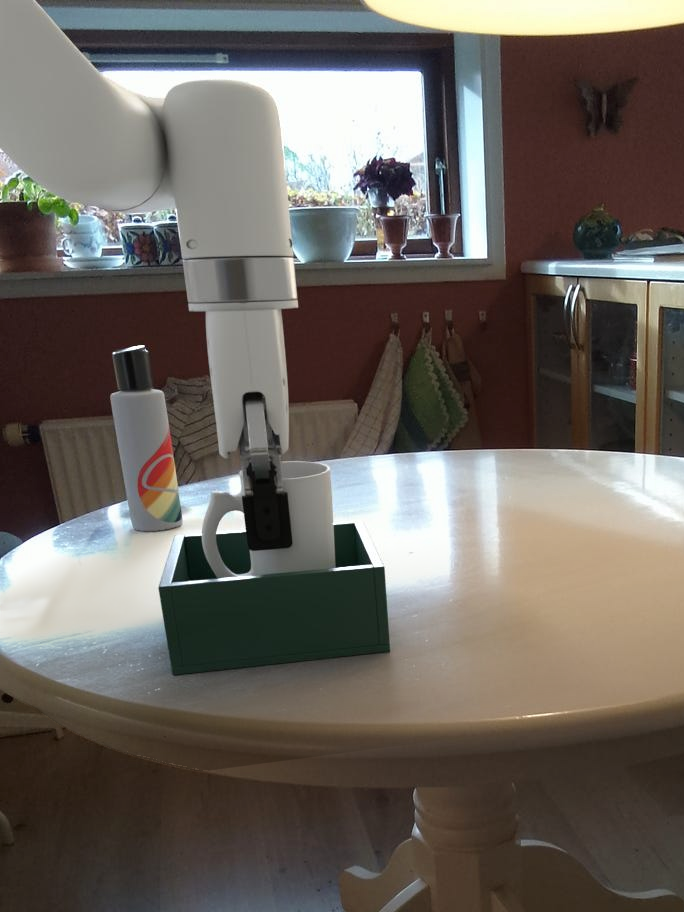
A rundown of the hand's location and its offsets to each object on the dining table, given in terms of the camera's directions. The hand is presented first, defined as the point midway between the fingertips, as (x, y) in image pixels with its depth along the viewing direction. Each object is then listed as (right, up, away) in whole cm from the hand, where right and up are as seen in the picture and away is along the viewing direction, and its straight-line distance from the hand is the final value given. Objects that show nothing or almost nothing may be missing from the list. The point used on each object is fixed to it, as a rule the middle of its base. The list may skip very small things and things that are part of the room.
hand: (269, 534), depth 71 cm
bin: (0, -7, +3) cm, 8 cm away
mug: (0, -7, +3) cm, 7 cm away
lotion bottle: (-21, +5, +37) cm, 43 cm away
